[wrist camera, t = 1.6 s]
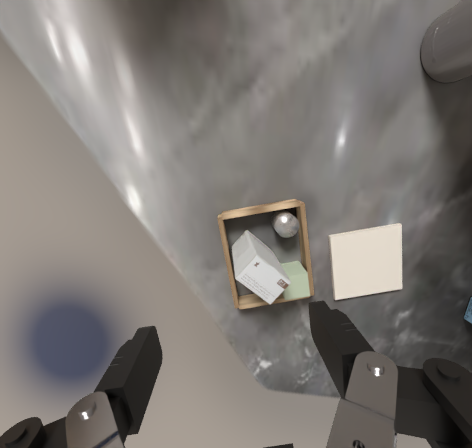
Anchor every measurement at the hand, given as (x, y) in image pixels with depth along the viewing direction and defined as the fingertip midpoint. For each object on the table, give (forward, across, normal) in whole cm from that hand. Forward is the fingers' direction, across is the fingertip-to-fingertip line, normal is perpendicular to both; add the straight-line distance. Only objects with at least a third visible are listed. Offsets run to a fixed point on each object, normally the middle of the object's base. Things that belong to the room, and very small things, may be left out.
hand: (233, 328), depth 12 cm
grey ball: (+28, -8, +2) cm, 29 cm away
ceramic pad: (+28, -22, +12) cm, 37 cm away
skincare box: (+28, -3, +6) cm, 29 cm away
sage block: (+28, -9, +12) cm, 32 cm away
